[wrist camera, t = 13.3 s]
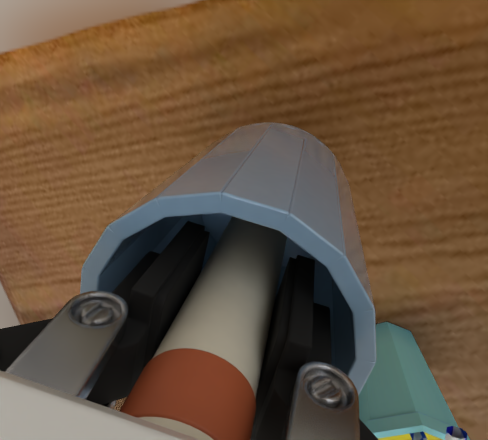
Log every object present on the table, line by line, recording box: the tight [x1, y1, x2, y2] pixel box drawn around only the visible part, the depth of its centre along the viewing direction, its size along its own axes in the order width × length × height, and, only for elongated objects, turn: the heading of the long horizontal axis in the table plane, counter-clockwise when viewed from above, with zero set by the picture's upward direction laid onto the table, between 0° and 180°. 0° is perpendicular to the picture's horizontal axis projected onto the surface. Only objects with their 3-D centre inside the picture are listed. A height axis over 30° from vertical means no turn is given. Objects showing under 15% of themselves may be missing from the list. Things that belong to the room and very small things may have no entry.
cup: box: [358, 322, 470, 440], centre depth 25 cm, size 14×8×15 cm, turn 3°
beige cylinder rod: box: [120, 217, 287, 440], centre depth 12 cm, size 2×2×14 cm
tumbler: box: [80, 122, 377, 396], centre depth 14 cm, size 8×8×10 cm
